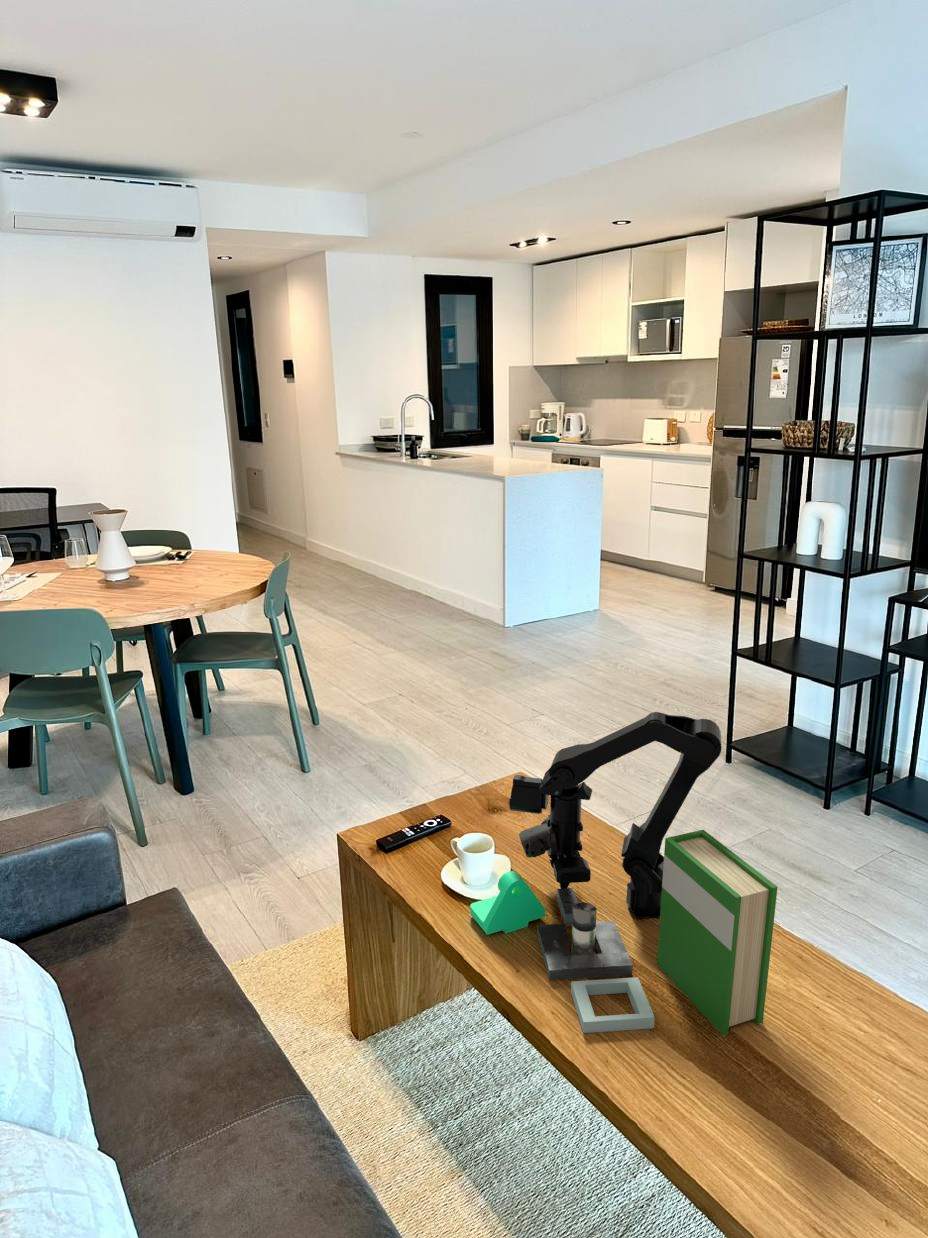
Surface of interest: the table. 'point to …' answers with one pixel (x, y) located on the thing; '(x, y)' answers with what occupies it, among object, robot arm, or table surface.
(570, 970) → the socket block
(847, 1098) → the table surface
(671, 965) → the hardback book
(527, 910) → the camera mount
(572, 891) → the grey rectangular block
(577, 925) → the chrome metal cylinder
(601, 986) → the square frame
